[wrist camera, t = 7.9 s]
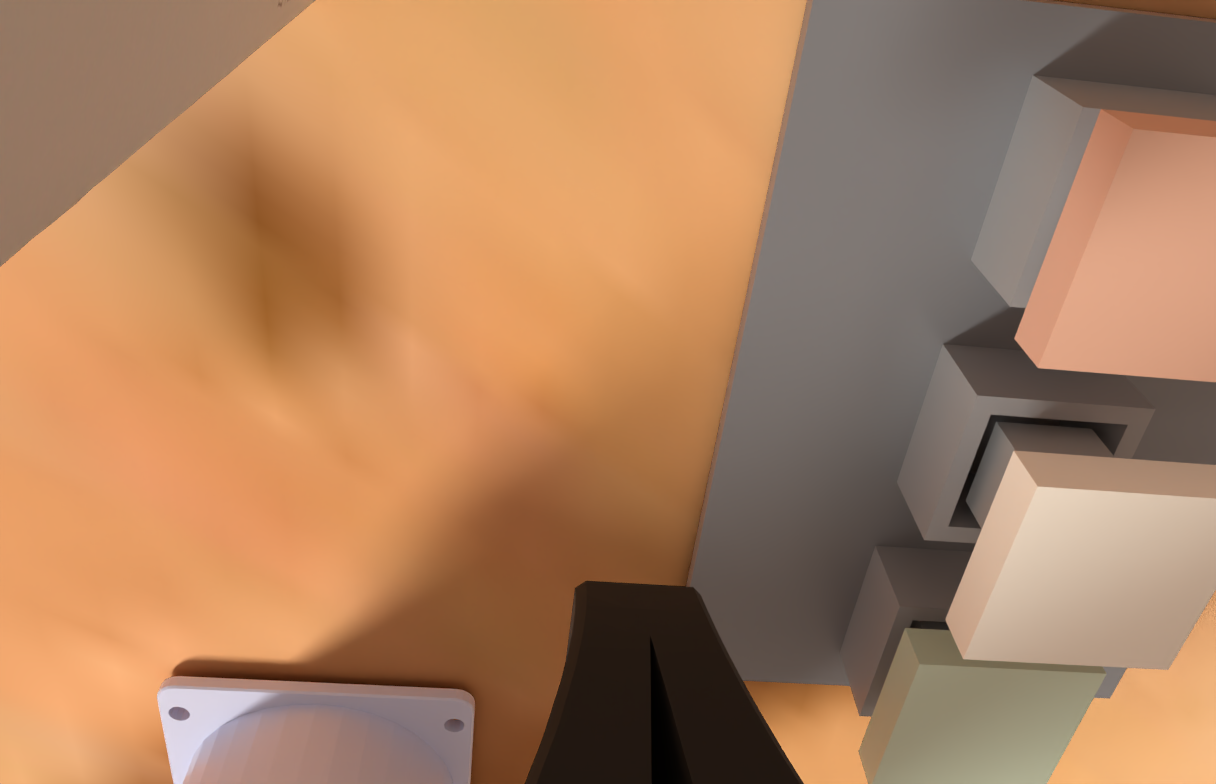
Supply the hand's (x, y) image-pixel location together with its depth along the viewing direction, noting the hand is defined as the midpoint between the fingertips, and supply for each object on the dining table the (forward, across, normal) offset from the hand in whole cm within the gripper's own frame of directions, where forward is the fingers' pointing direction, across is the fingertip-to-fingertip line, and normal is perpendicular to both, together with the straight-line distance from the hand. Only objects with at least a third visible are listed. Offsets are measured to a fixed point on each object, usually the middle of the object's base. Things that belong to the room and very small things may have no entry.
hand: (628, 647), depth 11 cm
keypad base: (+10, -9, +2) cm, 14 cm away
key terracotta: (+9, -9, -3) cm, 13 cm away
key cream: (+8, -9, +3) cm, 12 cm away
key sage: (+9, -9, +8) cm, 15 cm away
